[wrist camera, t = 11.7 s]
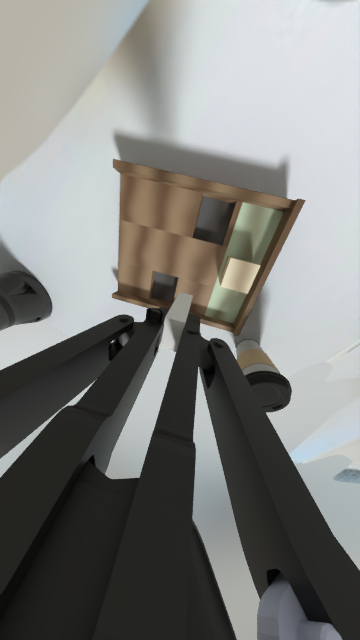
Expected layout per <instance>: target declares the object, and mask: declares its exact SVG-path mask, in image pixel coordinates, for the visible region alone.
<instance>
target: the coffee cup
mask: <svg viewBox="0 0 360 640" xmlns="http://www.w3.org/2000/svg"><path fill="white" fill-rule="evenodd" d="M236 352H237V362H238V364H239V366H240V368H241V369H242V371H243V373H244V375H245V377H246V378H247V380H248V382H249V384H250V386H251V387H252V389H253V391H254V393H255V395H256V397H257V398H258V400H259V402H260V404H261V406H262V407H263V409H264V411H265V412H275V411H278V410H281V409H283V408H284V407H286V406H287V405H288V404H289V402H290V398H291V392H292V390H291V386H290V383H289V381H288V380H287V379H286V378H285V377H284V376H283V375H281V374H280V372H279V371H278V370H277V368H276V367H275V365H274V364H273V363H272V361H271V360H270V358H269V357H268V356H267V354H266V353H264V351H263V350H262V348H261V347H260V346H259V344H258V343H257V342H255V341H253V340H244V341H242V342H240V343H239V344H238V346H237V348H236Z"/></svg>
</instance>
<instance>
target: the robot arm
mask: <svg viewBox="0 0 360 640" xmlns="http://www.w3.org/2000/svg"><path fill="white" fill-rule="evenodd" d="M192 297H193V295H190V294H186V293H182V292H179V294H178V296H177V298H176V299H175V301H174V303H173V305H172V306H171V308H166V307H160V308H148V309H147V313H146V320H145V321H144V322H134V318H133V317H131V316H129V315H118V316H116V317H113V318H111V319H109V320H107V321H105V322H103V323H101V324H98V325H96V326H94V327H92V328H90V329H88V330H86V331H84V332H81V333H79V334H77V335H75V336H73V337H71V338H69V339H66V340H64V341H62V342H60V343H58V344H56V345H54V346H51V347H49V348H47V349H45V350H43V351H41V352H39V353H36V354H34V355H32V356H30V357H28V358H26V359H24V360H21V361H19V362H17V363H15V364H13V365H11V366H9V367H7V368H4V369H2V370H0V458H1V457H3V456H4V455H5V454H6V453H8V452H9V451H10V450H11V449H12V448H14V447H15V446H16V445H17V444H19V443H20V442H21V441H22V440H23V439H25V438H26V437H27V436H28V435H30V434H31V433H32V432H33V431H34V430H36V429H37V428H38V427H39V426H40V425H41V424H43V423H44V422H45V421H47V420H48V419H49V418H50V417H51V416H53V415H54V414H55V413H56V412H57V411H58V410H60V409H61V408H62V407H63V406H65V405H66V404H67V403H68V402H70V401H71V400H72V399H73V398H74V397H76V396H77V395H78V394H79V393H81V392H82V391H83V390H84V389H85V388H87V387H88V386H89V385H90V384H91V383H93V382H94V381H95V380H96V379H97V380H96V381H95V382H94V383H93V384H92V386H91V387H90V388H89V389H88V391H87V392H86V393H85V394H84V395H83V397H82V398H81V399H80V401H79V402H77V404H75V405H74V406H67V407H65V408H63V409H62V410H61V411H60V412H59V413H58V414H57V415H56V416H55V417H54V418H53V419H52V420H51V421H50V422H49V423H48V425H47V426H46V427H45V428H44V429H43V430H42V431H41V433H40V434H39V435H38V436H37V437H36V438H35V439H34V440H33V442H32V443H31V444H30V445H29V446H28V447H27V448H26V449H25V451H24V452H23V453H22V454H21V455H20V456H19V457H18V459H17V460H16V461H15V462H14V463H13V464H12V465H11V467H10V468H9V469H8V470H7V471H6V472H5V473H4V474H3V475H2V477H1V478H0V640H237V639H236V636H235V633H234V630H233V627H232V624H231V622H230V619H229V616H228V613H227V610H226V607H225V604H224V601H223V598H222V596H221V593H220V590H219V587H218V584H217V581H216V578H215V575H214V572H213V569H212V566H211V564H210V561H209V558H208V555H207V552H206V549H205V546H204V543H203V541H202V538H201V536H200V533H199V531H198V529H197V527H196V525H195V523H194V521H193V519H192V512H193V494H194V476H195V458H196V456H195V455H196V454H195V453H196V449H195V443H194V442H193V429H194V415H195V402H196V389H197V375H198V367H200V368H199V369H200V375H201V379H202V383H203V387H204V391H205V396H206V400H207V404H208V408H209V412H210V417H211V421H212V425H213V429H214V433H215V438H216V442H217V446H218V450H219V454H220V458H221V463H222V466H223V471H224V475H225V479H226V483H227V488H228V492H229V496H230V500H231V505H232V509H233V513H234V517H235V521H236V525H237V529H238V533H239V537H240V540H241V544H242V548H243V551H244V555H245V558H246V561H247V564H248V567H249V570H250V572H251V576H252V579H253V582H254V585H255V587H256V590H257V593H258V595H259V598H260V602H259V608H258V614H257V639H258V640H360V571H359V569H358V568H357V566H356V565H355V564H354V562H353V561H352V560H351V558H350V557H349V556H348V554H347V553H346V552H345V550H344V549H343V547H342V546H341V545H340V543H339V542H338V541H337V539H336V538H335V537H334V535H333V533H332V532H331V530H330V528H329V526H328V525H327V523H326V521H325V519H324V517H323V515H322V514H321V512H320V510H319V508H318V506H317V505H316V503H315V501H314V499H313V497H312V496H311V494H310V492H309V490H308V489H307V487H306V485H305V483H304V481H303V479H302V478H301V476H300V474H299V472H298V470H297V469H296V467H295V465H294V463H293V461H292V460H291V458H290V456H289V454H288V452H287V451H286V449H285V447H284V445H283V443H282V442H281V440H280V438H279V436H278V434H277V433H276V431H275V429H274V427H273V425H272V424H271V422H270V420H269V418H268V416H267V415H266V413H265V411H264V409H263V407H262V406H261V404H260V402H259V400H258V398H257V397H256V395H255V393H254V391H253V389H252V387H251V386H250V384H249V382H248V380H247V378H246V377H245V375H244V373H243V371H242V369H241V368H240V366H239V364H238V362H237V360H236V359H235V357H234V355H233V353H232V351H231V350H230V348H229V346H228V345H227V343H226V342H224V341H223V340H221V339H217V338H213V339H211V340H210V341H208V340H206V339H204V338H203V337H202V336H201V333H200V317H199V316H198V315H194V314H190V313H189V309H190V305H191V301H192ZM51 312H52V303H51V300H50V297H49V295H48V293H47V292H46V290H45V289H44V287H43V286H42V285H41V284H40V283H39V282H38V281H37V280H36V279H34V278H33V277H31V276H30V275H28V274H26V273H23V272H19V271H15V272H7V273H3V274H1V275H0V331H1V330H3V329H6V328H8V327H10V326H13V325H18V324H26V323H33V322H39V321H41V320H44V319H46V318H48V317H49V316H50V314H51ZM113 340H114V342H113V343H111V342H112V341H113ZM159 345H160V347H161V348H164V349H168V350H172V351H175V352H176V355H175V359H174V362H173V366H172V369H171V373H170V376H169V380H168V383H167V387H166V390H165V394H164V397H163V400H162V404H161V407H160V411H159V414H158V418H157V421H156V425H155V428H154V431H153V434H152V437H151V440H150V444H149V447H148V451H147V454H146V457H145V461H144V464H143V468H142V472H141V475H140V478H130V479H110V478H108V477H107V476H106V475H105V472H106V470H107V467H108V464H109V461H110V458H111V454H112V451H113V449H114V447H115V444H116V442H117V440H118V438H119V436H120V433H121V431H122V429H123V427H124V425H125V422H126V420H127V418H128V416H129V414H130V411H131V409H132V407H133V405H134V403H135V401H136V398H137V396H138V394H139V392H140V390H141V387H142V385H143V383H144V381H145V379H146V376H147V374H148V372H149V370H150V368H151V365H152V363H153V361H154V359H155V357H156V354H157V352H158V348H159Z"/></svg>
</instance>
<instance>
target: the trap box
mask: <svg viewBox="0 0 360 640" xmlns="http://www.w3.org/2000/svg"><path fill="white" fill-rule="evenodd" d="M113 168H115V169H116V170H117V171H118V172H120V173H121V192H120V230H119V268H118V291H117V292H115V293H113V294H112V298H114V299H118V300H121V301H125V302H128V303H132V304H135V305H139V306H142V307H146V308H160V307H166V308H171V306H172V305H173V303H174V301H175V299H176V298H177V296H178V294H179V292H182V293H186V294H190V295H193V297H192V301H191V305H190V309H189V313H190V314H194V315H198V316H199V317H200V323H202V324H206V325H209V326H213V327H216V328H220V329H223V330H227V331H230V332H233V333H234V335H236V336H239V334H240V332H241V330H242V328H243V326H244V324H245V322H246V320H247V318H248V316H249V313H250V311H251V309H252V307H253V305H254V303H255V301H256V299H257V297H258V295H259V293H260V291H261V289H262V287H263V285H264V283H265V281H266V279H267V277H268V275H269V273H270V271H271V269H272V267H273V265H274V263H275V261H276V259H277V257H278V255H279V253H280V251H281V249H282V247H283V245H284V243H285V241H286V239H287V237H288V235H289V233H290V231H291V229H292V227H293V225H294V222H295V220H296V218H297V216H298V214H299V212H300V210H301V208H302V206H303V204H304V202H305V200H302V199H297V200H290V199H286V198H282V197H277V196H273V195H269V194H264V193H260V192H255V191H251V190H247V189H242V188H238V187H234V186H229V185H225V184H221V183H216V182H212V181H207V180H203V179H199V178H194V177H190V176H186V175H181V174H177V173H172V172H168V171H164V170H159V169H155V168H151V167H146V166H142V165H138V164H133V163H129V162H124V161H120V160H116V159H113ZM228 256H230V257H234V258H238V259H242V260H246V261H249V262H253V263H256V264H258V265H261V266H260V268H259V270H258V272H257V275H256V277H255V279H254V281H253V283H252V286H251V288H250V290H249V292H248V294H246V293H242V292H238V291H235V290H231V289H227V288H224V287H220V283H219V280H220V277H221V274H222V271H223V268H224V265H225V263H226V260H227V257H228Z"/></svg>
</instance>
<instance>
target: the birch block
mask: <svg viewBox="0 0 360 640" xmlns="http://www.w3.org/2000/svg"><path fill="white" fill-rule="evenodd" d="M260 266H261V265H258V264H256V263H253V262H249V261H246V260H242V259H238V258H234V257H230V256H228V257H227V260H226V263H225V265H224V268H223V271H222V274H221V277H220V280H219V283H220V287H224V288H227V289H231V290H235V291H238V292H242V293H246V294H248V292H249V290H250V288H251V286H252V283H253V281H254V279H255V277H256V275H257V272H258V270H259V268H260Z"/></svg>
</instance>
